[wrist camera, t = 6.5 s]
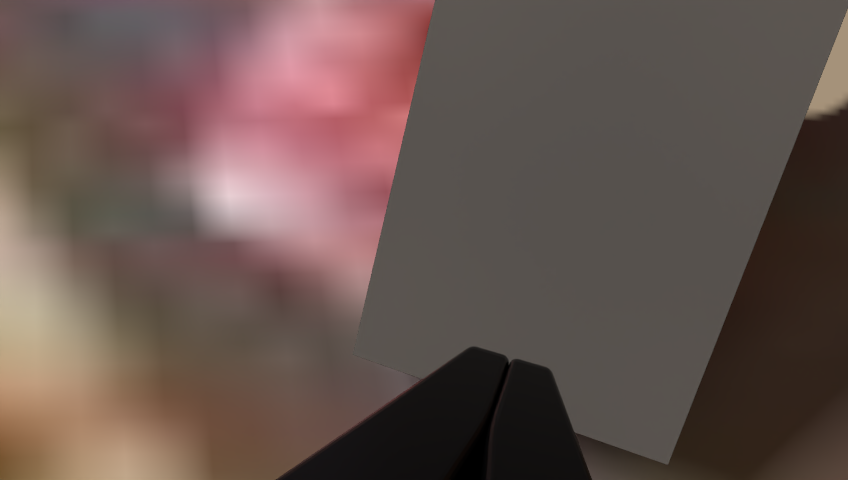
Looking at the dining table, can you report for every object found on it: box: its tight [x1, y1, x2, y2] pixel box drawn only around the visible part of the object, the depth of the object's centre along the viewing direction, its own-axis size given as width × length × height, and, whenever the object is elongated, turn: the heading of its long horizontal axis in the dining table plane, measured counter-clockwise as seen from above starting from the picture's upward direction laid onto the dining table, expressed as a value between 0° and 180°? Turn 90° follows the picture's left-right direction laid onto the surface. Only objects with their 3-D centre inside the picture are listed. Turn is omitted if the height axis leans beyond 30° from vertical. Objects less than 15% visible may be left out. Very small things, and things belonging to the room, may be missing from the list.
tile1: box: [353, 0, 848, 465], centre depth 12 cm, size 2×6×12 cm
